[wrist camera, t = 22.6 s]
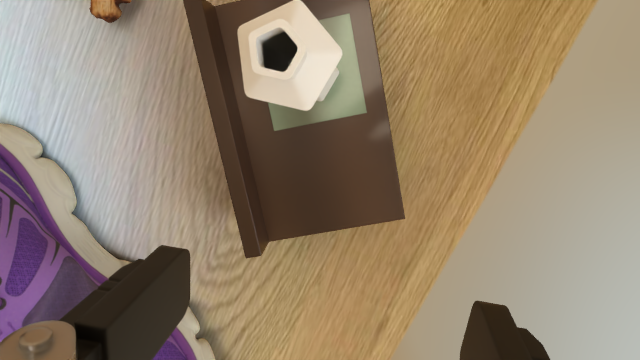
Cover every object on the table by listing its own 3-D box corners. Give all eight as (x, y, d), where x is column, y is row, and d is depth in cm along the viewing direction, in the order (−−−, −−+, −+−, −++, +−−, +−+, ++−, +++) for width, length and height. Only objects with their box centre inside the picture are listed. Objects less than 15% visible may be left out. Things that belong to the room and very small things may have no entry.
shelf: (362, -13, 32) (366, -44, 25) (398, 205, 35) (411, 231, 28) (216, 20, 33) (182, -1, 26) (264, 228, 36) (245, 258, 30)
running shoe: (161, 451, 42) (64, 635, 27) (-94, 190, 38) (-362, 246, 24) (264, 379, 39) (217, 539, 25) (3, 91, 35) (-230, 87, 21)
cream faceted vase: (265, 72, 30) (185, 46, 15) (310, 30, 29) (273, -41, 14) (307, 120, 30) (269, 141, 15) (352, 80, 29) (359, 61, 15)
